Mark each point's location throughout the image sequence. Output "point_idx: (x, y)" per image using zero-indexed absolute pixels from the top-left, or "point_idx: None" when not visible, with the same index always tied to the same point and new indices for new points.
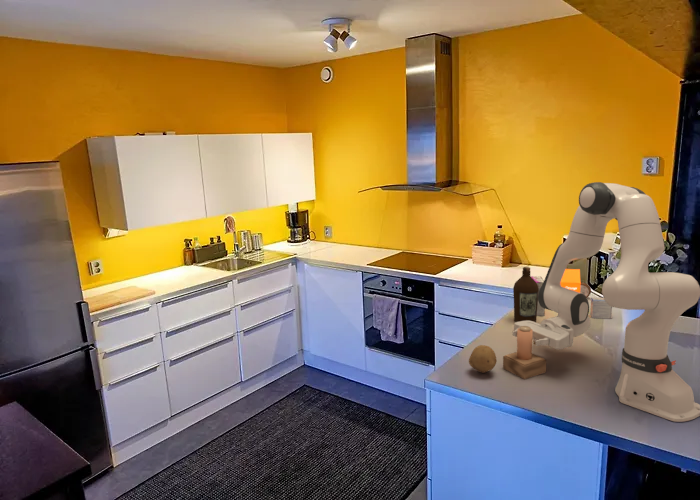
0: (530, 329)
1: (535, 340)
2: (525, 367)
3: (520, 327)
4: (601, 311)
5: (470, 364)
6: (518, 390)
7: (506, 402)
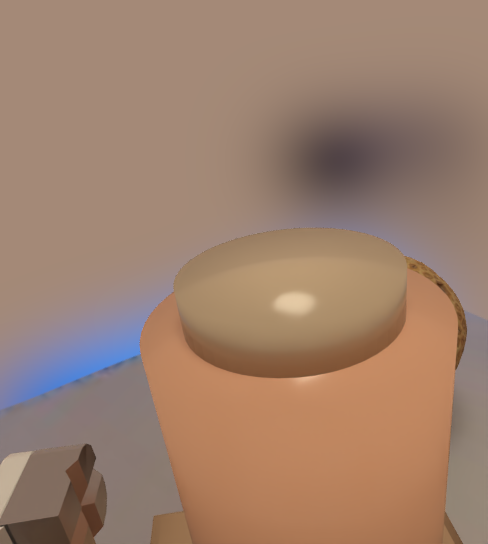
0: (192, 329)
1: (46, 449)
2: (155, 530)
3: (330, 234)
4: None
5: None
6: (105, 466)
7: (82, 379)
